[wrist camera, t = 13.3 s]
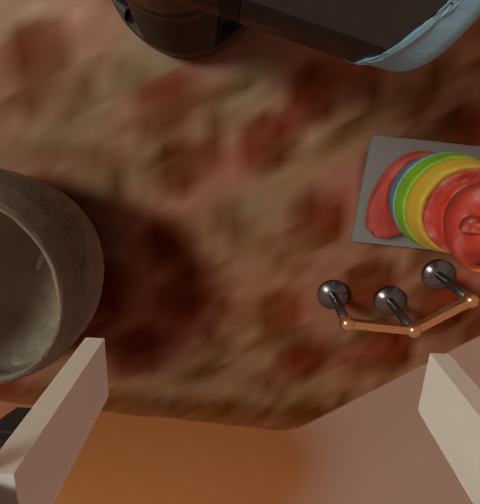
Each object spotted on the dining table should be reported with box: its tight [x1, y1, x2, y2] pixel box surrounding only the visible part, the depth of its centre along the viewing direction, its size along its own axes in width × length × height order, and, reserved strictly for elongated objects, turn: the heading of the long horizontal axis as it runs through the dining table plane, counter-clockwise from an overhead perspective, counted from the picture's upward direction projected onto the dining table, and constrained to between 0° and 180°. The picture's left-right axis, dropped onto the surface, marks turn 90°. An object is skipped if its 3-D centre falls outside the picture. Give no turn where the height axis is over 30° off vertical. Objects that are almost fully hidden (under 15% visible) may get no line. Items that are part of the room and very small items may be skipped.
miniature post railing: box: [318, 259, 480, 338], centre depth 45 cm, size 8×16×9 cm, turn 84°
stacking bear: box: [365, 151, 480, 272], centre depth 37 cm, size 11×10×18 cm
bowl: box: [0, 169, 104, 384], centre depth 42 cm, size 21×21×15 cm
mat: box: [351, 135, 480, 250], centre depth 46 cm, size 12×12×1 cm
